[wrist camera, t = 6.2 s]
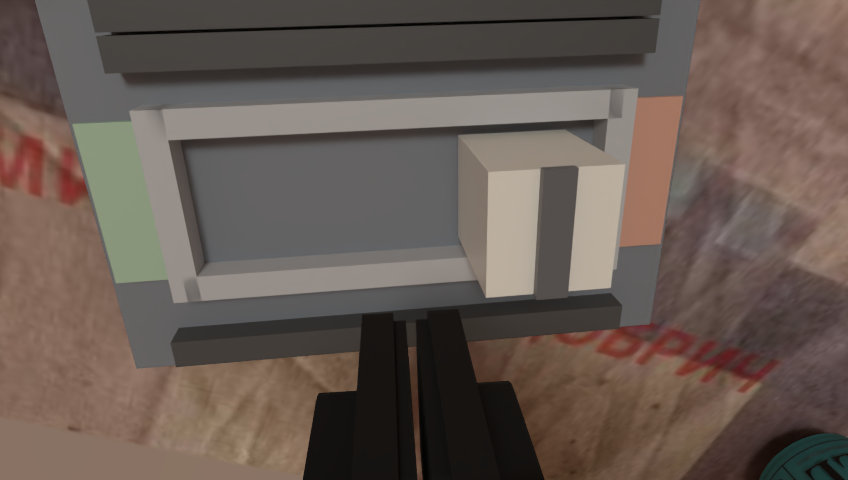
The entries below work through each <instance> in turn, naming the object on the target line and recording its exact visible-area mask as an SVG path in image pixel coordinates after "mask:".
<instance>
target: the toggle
mask: <svg viewBox="0 0 848 480" xmlns="http://www.w3.org/2000/svg"><path fill="white" fill-rule="evenodd" d="M624 172H625V164H624V163H623V162H621V161H619V160H617V159H616V158H614V157H612V156H610V155H609V154H607V153H605V152H603V151H602V150H600V149H598V148H596V147H595V146H593V145H591V144H589V143H588V142H586V141H584V140H582V139H581V138H579V137H577V136H575V135H574V134H572V133H570V132H568V131H567V130H565V129H564V130H544V131H525V132H505V133H485V134H466V135H458V237H459V239H460V242H461V244H462V246H463V248H464V250H465V253H466V255H467V257H468V259H469V262H470V264H471V266H472V268H473V270H474V273H475V275H476V277H477V279H478V281H479V284H480V286H481V288H482V290H483V293H484V295H485V297H486V298H490V297H503V296H516V295H528V294H533V296H534V297H535V299H536V300H544V299H557V298H568V291H578V290H591V289H604V288H611V281H612V273H613V264H614V256H615V247H616V239H617V231H618V222H619V214H620V205H621V197H622V189H623V180H624Z"/></svg>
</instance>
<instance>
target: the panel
mask: <svg viewBox="0 0 848 480" xmlns="http://www.w3.org/2000/svg"><path fill="white" fill-rule="evenodd" d="M35 3H36V6H37V10H38V14H39V17H40V21H41V24H42V28H43V32H44V35H45V39H46V42H47V46H48V50H49V53H50V57H51V61H52V64H53V68H54V71H55V75H56V79H57V82H58V86H59V89H60V93H61V97H62V100H63V104H64V108H65V111H66V115H67V118H68V122H69V126H70V129H71V133H72V136H73V140H74V144H75V147H76V151H77V155H78V158H79V162H80V165H81V169H82V173H83V176H84V180H85V183H86V187H87V191H88V194H89V198H90V202H91V205H92V209H93V212H94V216H95V220H96V223H97V227H98V230H99V234H100V238H101V241H102V245H103V249H104V252H105V256H106V259H107V263H108V267H109V270H110V274H111V278H112V281H113V285H114V288H115V292H116V296H117V299H118V303H119V306H120V310H121V314H122V317H123V321H124V325H125V328H126V332H127V335H128V339H129V343H130V346H131V350H132V353H133V357H134V361H135V364H136V368H137V369H138V368H150V367H161V366H173V365H176V367H182V366H194V365H205V364H217V363H228V362H240V361H251V360H263V359H274V358H286V357H297V356H309V355H320V354H332V353H343V352H355V351H360V339H361V324H362V315H363V314H378V313H393V316H394V321H399V320H406V329H407V343H408V347H412V346H416V319H427V311H430V310H447V309H458V310H459V313H460V317H461V321H462V325H463V329H464V333H465V337H466V341H467V342H470V341H481V340H493V339H504V338H516V337H527V336H539V335H550V334H562V333H573V332H585V331H596V330H608V329H619V328H620V327H623V326H635V325H646V324H650V321H651V314H652V308H653V301H654V295H655V288H656V282H657V275H658V269H659V263H660V256H661V250H662V243H663V237H664V230H665V224H666V217H667V211H668V204H669V198H670V191H671V185H672V179H673V172H674V166H675V159H676V153H677V146H678V140H679V133H680V127H681V120H682V114H683V107H684V101H685V95H686V88H687V82H688V75H689V69H690V62H691V56H692V49H693V43H694V36H695V30H696V24H697V17H698V11H699V4H700V0H35ZM564 129H565V130H567V131H568V132H570V133H572V134H574V135H575V136H577V137H579V138H581V139H582V140H584V141H586V142H588V143H589V144H591V145H593V146H595V147H596V148H598V149H600V150H602V151H603V152H605V153H607V154H609V155H610V156H612V157H614V158H616V159H617V160H619V161H621V162H623V163H624V164H625V172H624V180H623V189H622V197H621V205H620V214H619V222H618V231H617V239H616V247H615V256H614V264H613V273H612V281H611V288H604V289H591V290H578V291H568V298H557V299H544V300H536V299H535V297H534V296H533V294H528V295H516V296H503V297H490V298H486V297H485V295H484V293H483V290H482V288H481V286H480V284H479V281H478V279H477V277H476V275H475V273H474V270H473V268H472V266H471V264H470V262H469V259H468V257H467V255H466V253H465V250H464V248H463V246H462V244H461V242H460V239H459V237H458V135H466V134H485V133H505V132H525V131H544V130H564Z"/></svg>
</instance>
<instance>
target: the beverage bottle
mask: <svg viewBox="0 0 848 480" xmlns="http://www.w3.org/2000/svg"><path fill="white" fill-rule="evenodd" d="M759 480H848V438H847V437H845V436H842V435H838V434H830V433H826V434H817V435H813V436H809V437H806V438H803V439H801V440H799V441H796V442H794V443H793V444H791V445H789V446H788V447H786V448H785V449H783V450H782V451H781V452H779V453H778V454H777V455H776V456H775V457H774V458H773V459H772V460H771V461H770V462H769V463H768V465H767V466H766V468H765V469H764V471H763V473H762V474H761V477H760V479H759Z"/></svg>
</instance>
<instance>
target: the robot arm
mask: <svg viewBox="0 0 848 480" xmlns="http://www.w3.org/2000/svg"><path fill="white" fill-rule="evenodd" d="M416 346H417V373H418V400H419V427H420V449H421V463H422V475H423V480H544V477H543V474H542V471H541V468H540V465H539V462H538V459H537V456H536V453H535V450H534V447H533V445H532V442H531V439H530V436H529V433H528V430H527V427H526V424H525V421H524V418H523V415H522V412H521V409H520V406H519V403H518V400H517V397H516V394H515V392H514V389H513V386H512V384H511V383H510V382H509V381H501V382H485V383H477V382H476V378H475V374H474V370H473V366H472V362H471V358H470V354H469V350H468V345H467V341H466V337H465V333H464V329H463V325H462V321H461V317H460V313H459V310H458V309H447V310H430V311H427V319H416ZM303 480H417V468H416V454H415V440H414V426H413V412H412V398H411V384H410V370H409V357H408V343H407V329H406V320H399V321H394V316H393V313H378V314H363V315H362V324H361V339H360V353H359V368H358V383H357V391H346V392H330V393H319V394H318V396H317V400H316V405H315V411H314V417H313V423H312V428H311V434H310V440H309V446H308V452H307V458H306V464H305V470H304V476H303Z"/></svg>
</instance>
